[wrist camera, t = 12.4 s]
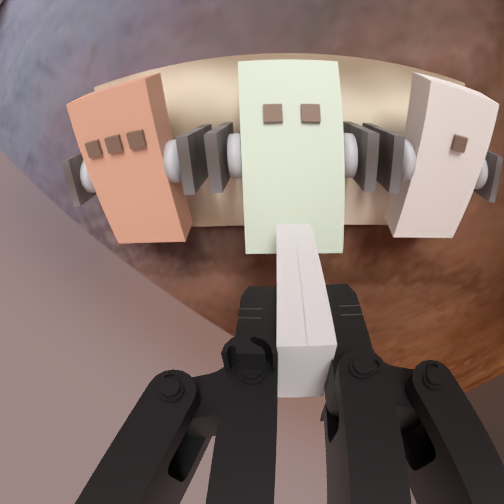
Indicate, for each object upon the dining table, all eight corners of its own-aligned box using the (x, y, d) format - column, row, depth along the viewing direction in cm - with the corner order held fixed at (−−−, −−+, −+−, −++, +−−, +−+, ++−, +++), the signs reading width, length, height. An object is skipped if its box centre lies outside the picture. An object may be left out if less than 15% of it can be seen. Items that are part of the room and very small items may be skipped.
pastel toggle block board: (102, 86, 16) (46, 93, 10) (456, 82, 13) (511, 89, 8) (128, 223, 22) (90, 266, 17) (440, 220, 20) (479, 262, 14)
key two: (231, 75, 13) (223, 61, 11) (340, 75, 13) (351, 61, 10) (239, 242, 16) (232, 255, 14) (345, 241, 16) (355, 254, 13)
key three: (79, 96, 12) (55, 109, 10) (173, 69, 11) (155, 76, 10) (123, 223, 19) (110, 246, 17) (202, 219, 18) (194, 244, 17)
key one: (400, 68, 10) (421, 78, 8) (484, 93, 9) (508, 109, 8) (375, 214, 17) (384, 239, 16) (446, 217, 17) (460, 240, 15)
